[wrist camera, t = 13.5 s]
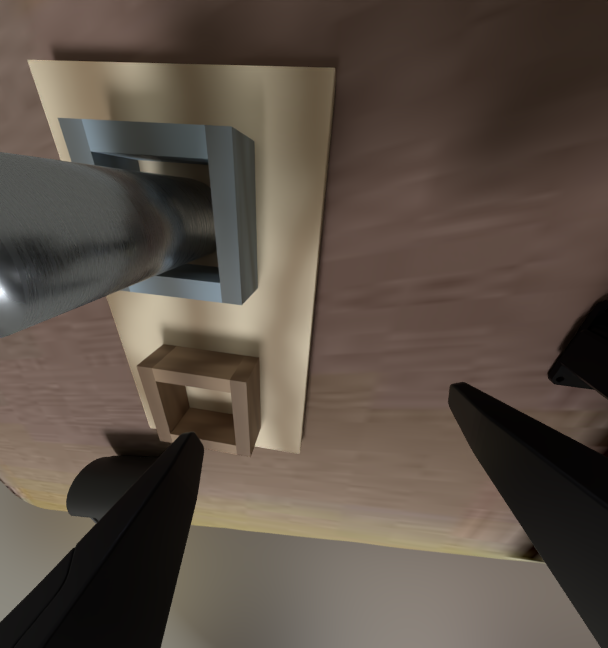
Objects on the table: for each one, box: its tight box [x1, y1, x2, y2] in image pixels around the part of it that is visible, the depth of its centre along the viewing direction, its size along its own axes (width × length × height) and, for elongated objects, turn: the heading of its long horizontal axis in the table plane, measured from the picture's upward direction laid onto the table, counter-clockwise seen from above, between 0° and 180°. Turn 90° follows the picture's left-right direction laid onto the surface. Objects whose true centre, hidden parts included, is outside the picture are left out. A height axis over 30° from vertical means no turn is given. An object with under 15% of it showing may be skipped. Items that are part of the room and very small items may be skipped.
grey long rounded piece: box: [0, 152, 217, 338], centre depth 10 cm, size 4×4×11 cm
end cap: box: [66, 456, 159, 523], centre depth 29 cm, size 10×7×7 cm
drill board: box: [28, 60, 336, 457], centre depth 18 cm, size 16×28×4 cm, turn 176°
